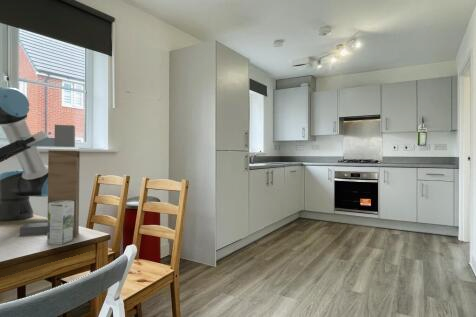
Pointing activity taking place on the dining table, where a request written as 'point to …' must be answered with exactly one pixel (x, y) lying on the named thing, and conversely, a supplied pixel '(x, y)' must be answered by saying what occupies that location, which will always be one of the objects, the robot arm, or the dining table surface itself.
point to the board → (33, 229)
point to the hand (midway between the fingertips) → (45, 134)
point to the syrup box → (60, 222)
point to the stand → (64, 180)
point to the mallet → (58, 137)
